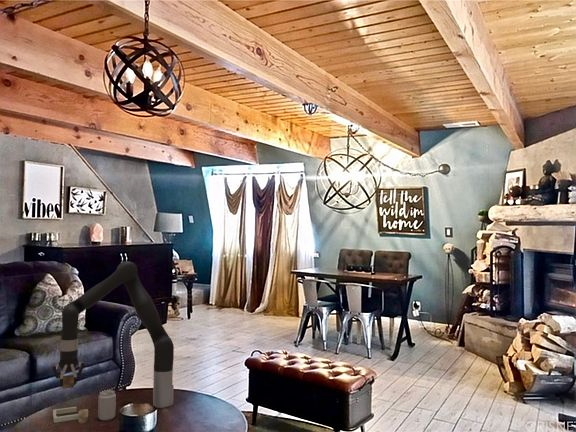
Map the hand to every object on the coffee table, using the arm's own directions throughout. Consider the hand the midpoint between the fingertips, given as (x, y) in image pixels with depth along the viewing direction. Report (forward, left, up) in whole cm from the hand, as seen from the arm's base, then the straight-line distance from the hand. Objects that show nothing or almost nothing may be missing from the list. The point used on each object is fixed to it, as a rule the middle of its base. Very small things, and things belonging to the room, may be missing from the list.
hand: (67, 385), depth 224 cm
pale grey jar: (-16, +10, -14) cm, 24 cm away
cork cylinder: (-6, +10, -14) cm, 18 cm away
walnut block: (0, 0, 0) cm, 0 cm away
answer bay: (0, 0, -14) cm, 14 cm away
